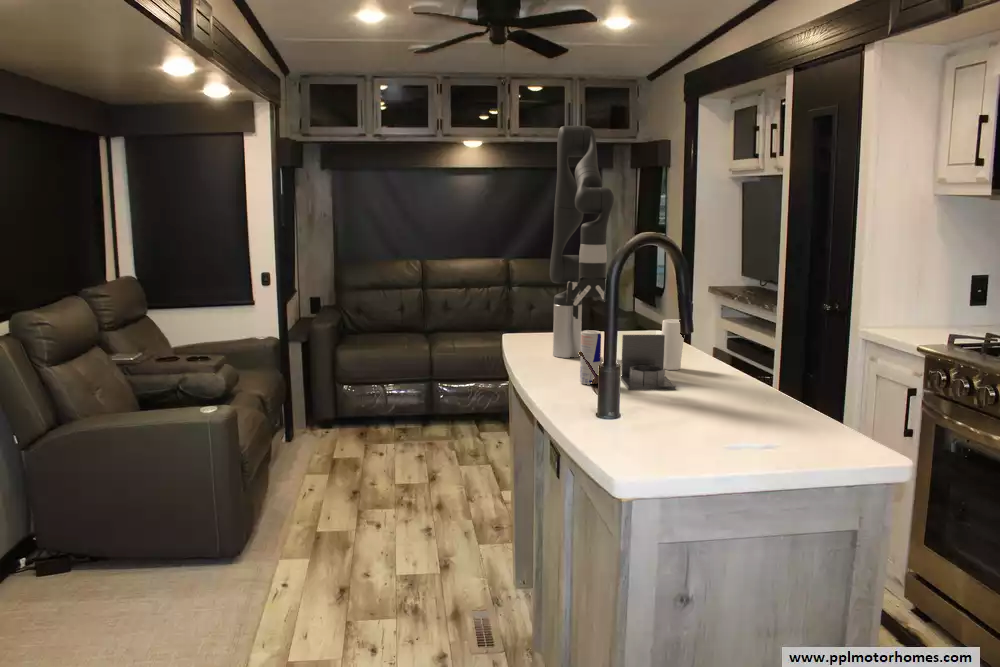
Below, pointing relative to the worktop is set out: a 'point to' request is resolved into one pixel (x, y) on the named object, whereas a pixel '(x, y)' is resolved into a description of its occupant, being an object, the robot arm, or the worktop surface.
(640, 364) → the cup bracket
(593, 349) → the beverage can
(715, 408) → the worktop surface
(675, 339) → the white tapered cylinder
